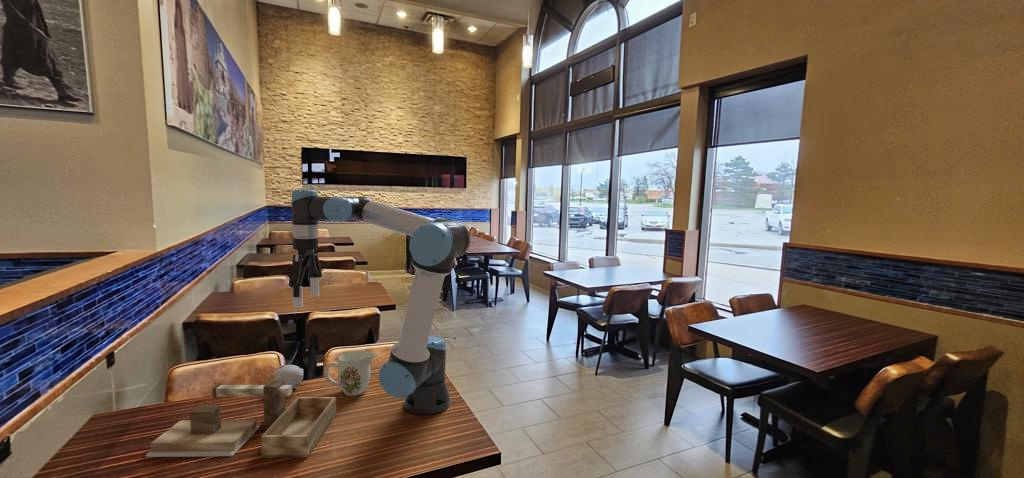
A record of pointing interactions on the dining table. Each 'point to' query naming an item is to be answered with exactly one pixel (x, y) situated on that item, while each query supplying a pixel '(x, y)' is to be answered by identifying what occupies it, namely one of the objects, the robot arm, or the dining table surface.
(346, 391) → the pitcher
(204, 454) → the light grey flat board
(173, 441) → the lid
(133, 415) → the dining table surface
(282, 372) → the toy
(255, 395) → the beige wooden bar
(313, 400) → the light wood open box
